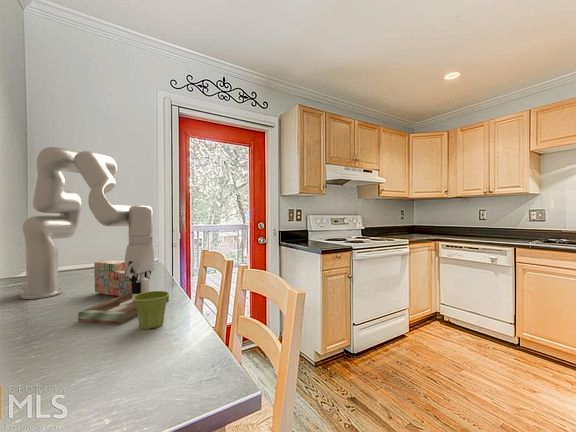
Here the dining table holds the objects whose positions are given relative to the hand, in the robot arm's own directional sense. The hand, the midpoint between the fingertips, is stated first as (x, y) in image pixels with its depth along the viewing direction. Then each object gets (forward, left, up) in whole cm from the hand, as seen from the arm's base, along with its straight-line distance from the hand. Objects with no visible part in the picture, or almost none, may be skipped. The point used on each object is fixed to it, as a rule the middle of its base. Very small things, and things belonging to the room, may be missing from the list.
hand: (140, 291), depth 99 cm
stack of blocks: (-16, +9, -4) cm, 19 cm away
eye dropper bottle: (0, 0, -3) cm, 3 cm away
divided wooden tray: (0, -6, -5) cm, 8 cm away
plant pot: (+16, -17, -5) cm, 24 cm away
